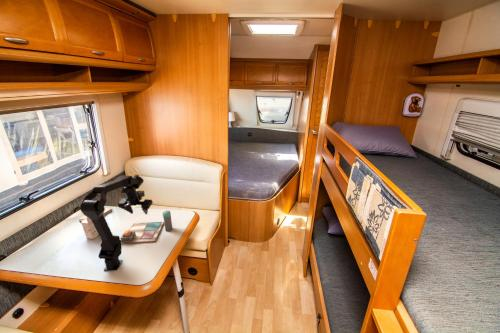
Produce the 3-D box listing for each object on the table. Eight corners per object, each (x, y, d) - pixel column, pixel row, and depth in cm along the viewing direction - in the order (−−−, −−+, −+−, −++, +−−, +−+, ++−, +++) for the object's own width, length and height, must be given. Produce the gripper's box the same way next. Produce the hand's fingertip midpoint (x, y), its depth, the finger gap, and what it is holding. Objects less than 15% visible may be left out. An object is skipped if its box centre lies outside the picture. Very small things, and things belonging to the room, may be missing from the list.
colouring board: (155, 242, 133) (154, 236, 132) (120, 244, 132) (118, 238, 130) (164, 222, 152) (163, 217, 151) (133, 224, 150) (132, 219, 149)
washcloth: (77, 222, 154) (76, 218, 152) (100, 209, 170) (99, 205, 169) (91, 225, 151) (90, 221, 150) (113, 211, 167) (112, 207, 166)
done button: (129, 237, 133) (128, 233, 132) (124, 238, 133) (123, 233, 132) (132, 234, 136) (131, 230, 135) (126, 234, 136) (125, 230, 135)
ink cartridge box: (97, 230, 145) (91, 210, 140) (103, 230, 144) (98, 211, 139) (85, 238, 137) (79, 217, 132) (92, 239, 136) (86, 218, 131)
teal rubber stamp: (171, 231, 143) (169, 214, 139) (164, 231, 143) (161, 214, 138) (173, 227, 147) (171, 210, 143) (166, 227, 147) (163, 210, 143)
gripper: (153, 186, 135) (159, 205, 144) (124, 184, 137) (132, 203, 146) (144, 198, 126) (151, 218, 134) (113, 197, 128) (122, 216, 136)
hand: (139, 213), depth 138 cm, fingers open, 9 cm apart
